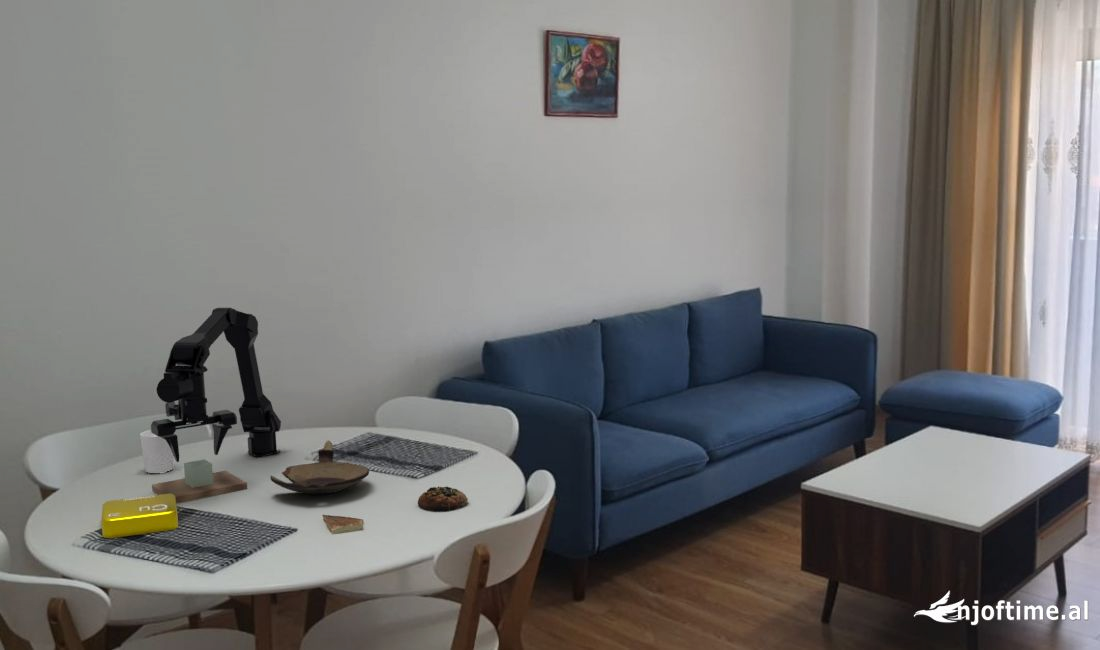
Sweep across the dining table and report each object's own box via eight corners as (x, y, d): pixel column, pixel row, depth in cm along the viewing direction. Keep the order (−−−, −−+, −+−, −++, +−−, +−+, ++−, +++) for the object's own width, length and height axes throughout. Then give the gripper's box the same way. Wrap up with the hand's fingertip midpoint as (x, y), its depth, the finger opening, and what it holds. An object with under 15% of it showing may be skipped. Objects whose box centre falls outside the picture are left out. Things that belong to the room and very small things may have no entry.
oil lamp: (252, 504, 241) (250, 471, 240) (314, 468, 270) (312, 439, 269) (342, 510, 235) (340, 476, 234) (395, 473, 264) (394, 443, 263)
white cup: (169, 474, 267) (166, 436, 265) (138, 475, 267) (134, 436, 266) (180, 466, 275) (177, 428, 273) (150, 466, 275) (147, 429, 273)
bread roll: (421, 514, 231) (420, 491, 231) (414, 506, 241) (414, 484, 242) (471, 511, 234) (471, 488, 234) (462, 503, 244) (462, 481, 244)
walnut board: (225, 476, 264) (225, 470, 264) (247, 488, 253) (246, 482, 253) (152, 490, 253) (151, 484, 253) (171, 504, 242) (170, 497, 242)
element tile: (176, 510, 239) (174, 490, 238) (178, 531, 225) (177, 509, 224) (104, 520, 233) (102, 499, 233) (102, 541, 220) (100, 519, 219)
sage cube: (205, 479, 256) (204, 459, 256) (213, 483, 252) (212, 463, 252) (185, 483, 253) (183, 463, 253) (192, 487, 249) (191, 467, 249)
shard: (322, 521, 229) (322, 513, 229) (357, 516, 232) (357, 508, 232) (330, 536, 219) (330, 528, 219) (367, 531, 222) (367, 523, 222)
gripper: (218, 383, 262) (223, 445, 264) (141, 394, 250) (146, 458, 253) (235, 390, 253) (239, 453, 255) (156, 401, 242) (161, 468, 244)
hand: (197, 458), depth 252 cm, fingers open, 9 cm apart
